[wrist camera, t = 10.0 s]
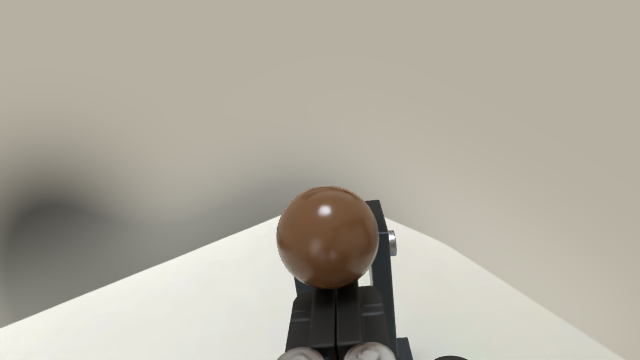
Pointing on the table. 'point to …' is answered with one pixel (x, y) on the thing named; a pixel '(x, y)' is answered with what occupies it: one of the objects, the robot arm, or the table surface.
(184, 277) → the table surface
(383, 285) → the bracket
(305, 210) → the lever
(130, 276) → the table surface
